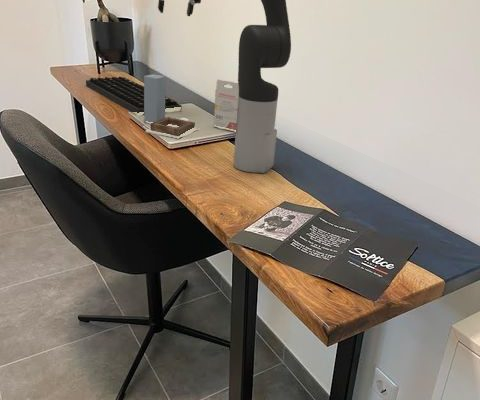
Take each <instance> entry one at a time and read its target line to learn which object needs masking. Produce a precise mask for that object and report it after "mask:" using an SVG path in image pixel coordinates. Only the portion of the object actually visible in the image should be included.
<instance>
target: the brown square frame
mask: <svg viewBox="0 0 480 400" xmlns="http://www.w3.org/2000/svg"><path fill="white" fill-rule="evenodd" d="M168 124H172V125H177V126H179V127H172V126H167V125H168ZM194 127H195V128H196V123H195V122H194V121H191V120H186V119H185V120H184V119H182V118H175V117H170V116H167V117H166V116H165V118H164V119H161V120H159V121H156V122H153V123H151V124H150V129H151V130H152V131H156V132H161V133H166V134H170V135H174V136H180V135H181V134H183V133H185V132H186V131H188V130H190V129H192V128H194Z"/></svg>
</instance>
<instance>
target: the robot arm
mask: <svg viewBox="0 0 480 400" xmlns="http://www.w3.org/2000/svg"><path fill="white" fill-rule="evenodd" d="M260 2H261V4H262V7H263V10H264V15H265V23H266V24H248V25H246V26H244V27H243V29H242V31H241V33H240V37H239V43H238V69H237V71H238V73H237V83H238V85H239V97H238V110H237V123H236V132H235V138H234V139H235V140H234V150H233V151H234V153H233V163H232V164H233V167H234V168H235V169H237V170H240V171H242V172H247V173H260V174H261V173H262V174H265V173H266V172H268V171H269V170H270V169H272V168H273V167H274V162H275V153H276V144H277V137H278V136H277V135H278V130H277V129H276V128H275V127H276V119H277V118H276V116H277V109H278V98H279V88H278V86H277V85H276V84H273V83H271V82H269V81H265V79H263V78H262V72H261V71H262V70H261V69H280V68H283V67H285V66H286V65H287V64H288V63H289V60H290V57H291V51H292V38H291V37H292V36H291V29H290V21H289V14H288V7H287V0H260ZM201 3H202V0H188V2H187V8H186V16H187V17H191V16H192V15H193V11H194V6H195V4H197V5H198V4H201ZM157 8H158V11H159V13H160V14H163V13H164V8H165V0H158V4H157Z"/></svg>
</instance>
